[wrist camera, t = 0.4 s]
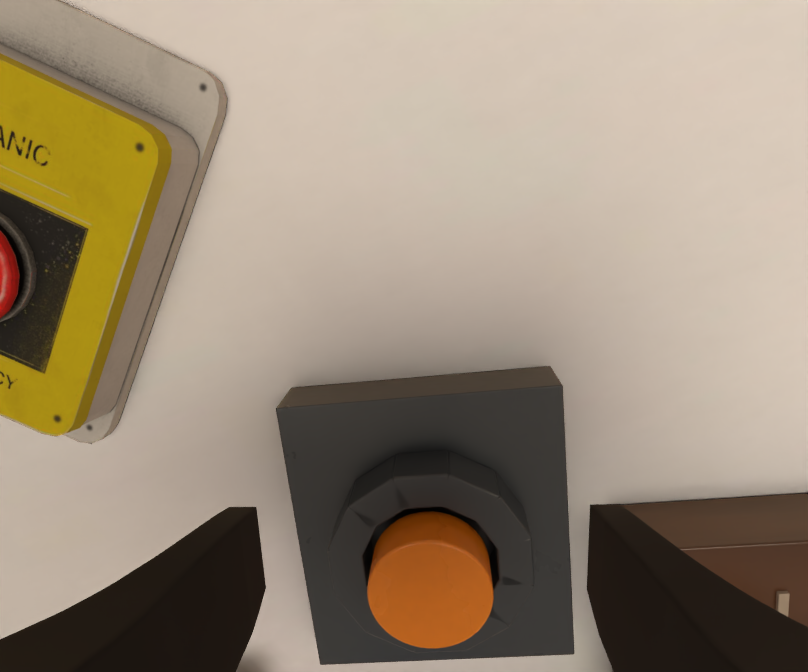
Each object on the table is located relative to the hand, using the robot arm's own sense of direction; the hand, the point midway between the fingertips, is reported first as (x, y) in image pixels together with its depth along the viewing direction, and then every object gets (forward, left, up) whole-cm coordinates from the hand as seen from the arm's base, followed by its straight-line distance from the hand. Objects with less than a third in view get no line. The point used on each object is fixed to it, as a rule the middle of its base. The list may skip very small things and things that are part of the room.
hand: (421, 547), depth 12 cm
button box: (-5, 0, -10) cm, 11 cm away
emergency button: (+8, +13, -10) cm, 18 cm away
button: (-5, 0, -6) cm, 8 cm away
